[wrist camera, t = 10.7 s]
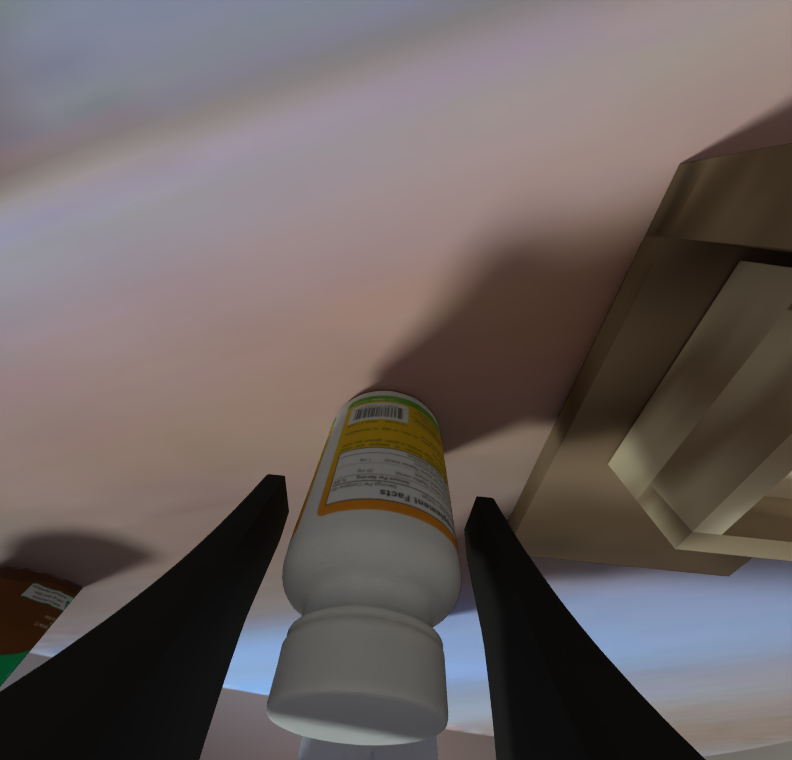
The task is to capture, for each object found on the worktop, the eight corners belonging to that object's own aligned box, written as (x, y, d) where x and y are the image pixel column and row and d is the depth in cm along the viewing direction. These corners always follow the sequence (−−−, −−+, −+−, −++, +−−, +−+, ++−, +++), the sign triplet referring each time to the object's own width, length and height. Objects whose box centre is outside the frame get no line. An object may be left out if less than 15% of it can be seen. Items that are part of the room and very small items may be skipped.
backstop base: (713, 559, 19) (829, 691, 14) (500, 537, 19) (535, 663, 13) (1108, 220, 9) (1999, 228, 4) (679, 163, 9) (1052, 95, 4)
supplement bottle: (386, 484, 17) (364, 763, 8) (311, 430, 15) (185, 714, 6) (462, 435, 15) (534, 735, 6) (386, 365, 13) (342, 653, 4)
